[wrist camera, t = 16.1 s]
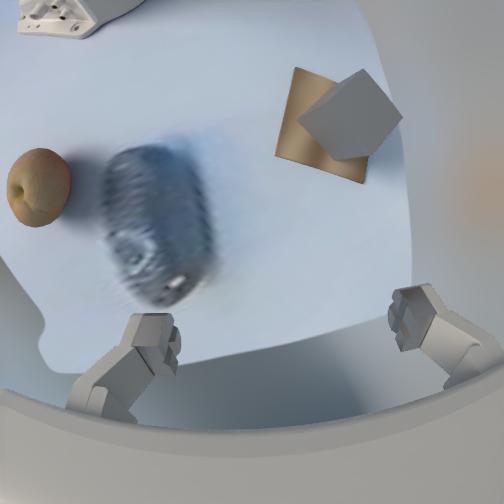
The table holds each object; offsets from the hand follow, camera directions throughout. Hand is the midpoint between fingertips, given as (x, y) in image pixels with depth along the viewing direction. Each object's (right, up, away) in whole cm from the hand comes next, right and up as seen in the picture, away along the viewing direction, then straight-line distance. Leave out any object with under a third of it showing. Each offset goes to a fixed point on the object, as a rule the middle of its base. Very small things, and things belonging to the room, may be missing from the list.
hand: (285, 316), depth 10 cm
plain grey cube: (+9, +18, +21) cm, 29 cm away
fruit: (-24, +10, +16) cm, 31 cm away
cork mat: (+8, +18, +21) cm, 29 cm away
